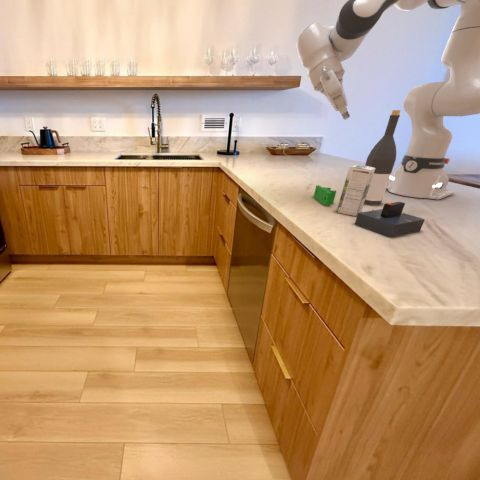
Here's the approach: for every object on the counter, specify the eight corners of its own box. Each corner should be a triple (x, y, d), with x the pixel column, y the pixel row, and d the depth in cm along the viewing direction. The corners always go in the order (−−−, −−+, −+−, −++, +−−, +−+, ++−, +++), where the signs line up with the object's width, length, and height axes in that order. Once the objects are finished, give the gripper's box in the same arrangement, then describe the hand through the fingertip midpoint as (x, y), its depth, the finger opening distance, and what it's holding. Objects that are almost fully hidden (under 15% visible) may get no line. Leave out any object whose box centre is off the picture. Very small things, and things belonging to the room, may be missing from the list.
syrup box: (341, 208, 95) (353, 164, 89) (361, 212, 92) (376, 166, 86) (335, 212, 92) (348, 166, 86) (357, 217, 88) (371, 169, 82)
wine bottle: (384, 206, 98) (417, 110, 85) (356, 203, 100) (385, 110, 88) (377, 200, 104) (407, 110, 92) (352, 197, 107) (377, 110, 95)
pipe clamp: (336, 206, 98) (340, 193, 96) (325, 206, 98) (328, 193, 96) (323, 197, 108) (326, 185, 106) (313, 196, 108) (316, 185, 106)
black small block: (394, 213, 80) (399, 200, 79) (400, 215, 79) (405, 202, 77) (380, 216, 78) (384, 202, 77) (386, 217, 77) (390, 204, 75)
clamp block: (382, 219, 86) (386, 207, 85) (420, 231, 78) (425, 218, 76) (354, 224, 82) (357, 212, 81) (390, 237, 74) (395, 224, 72)
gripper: (333, 56, 79) (355, 100, 77) (341, 78, 95) (359, 115, 94) (310, 72, 83) (330, 114, 81) (321, 91, 99) (338, 126, 97)
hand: (345, 115), depth 88 cm, fingers open, 8 cm apart
